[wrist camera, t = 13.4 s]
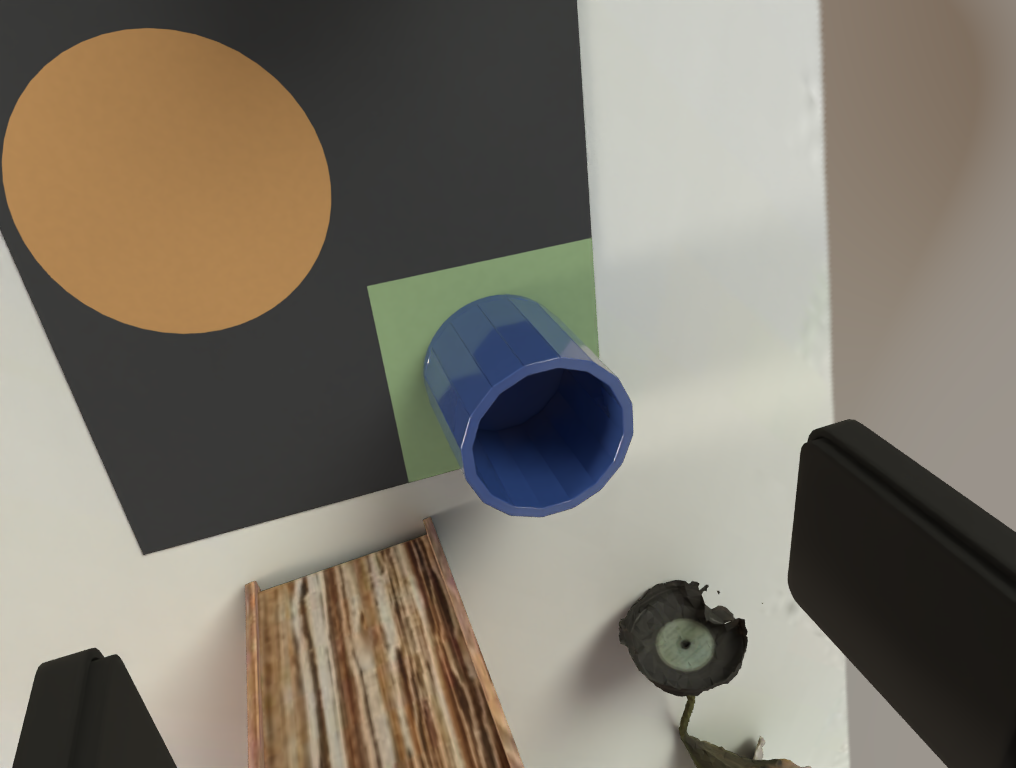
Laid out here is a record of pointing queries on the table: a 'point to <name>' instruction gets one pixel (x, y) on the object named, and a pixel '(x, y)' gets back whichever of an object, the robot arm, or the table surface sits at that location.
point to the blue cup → (526, 406)
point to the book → (371, 669)
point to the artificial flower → (690, 658)
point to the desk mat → (282, 228)
